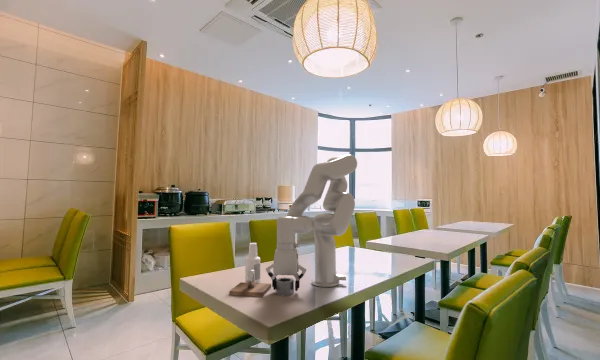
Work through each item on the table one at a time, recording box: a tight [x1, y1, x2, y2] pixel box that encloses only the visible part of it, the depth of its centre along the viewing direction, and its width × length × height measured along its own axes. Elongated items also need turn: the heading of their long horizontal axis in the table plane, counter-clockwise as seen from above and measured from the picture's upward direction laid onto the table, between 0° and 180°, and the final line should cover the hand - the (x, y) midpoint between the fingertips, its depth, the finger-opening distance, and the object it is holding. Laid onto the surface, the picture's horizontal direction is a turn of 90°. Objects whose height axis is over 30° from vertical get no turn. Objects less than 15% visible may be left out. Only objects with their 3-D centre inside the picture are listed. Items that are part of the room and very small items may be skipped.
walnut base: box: [228, 281, 272, 297], centre depth 117 cm, size 14×12×2 cm
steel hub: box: [275, 277, 295, 297], centre depth 115 cm, size 7×7×5 cm
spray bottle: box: [244, 242, 261, 283], centre depth 129 cm, size 7×7×18 cm
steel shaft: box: [248, 269, 255, 288], centre depth 117 cm, size 3×3×7 cm
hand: (285, 289), depth 114 cm, fingers open, 8 cm apart
